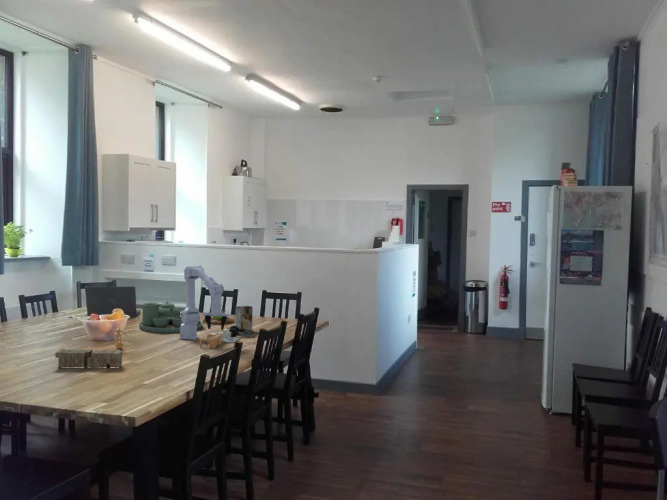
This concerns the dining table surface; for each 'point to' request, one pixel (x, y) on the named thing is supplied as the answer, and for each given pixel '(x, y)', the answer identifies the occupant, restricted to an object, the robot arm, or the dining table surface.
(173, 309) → the tea set
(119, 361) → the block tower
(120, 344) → the figurine
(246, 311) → the coffee box
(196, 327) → the robot arm
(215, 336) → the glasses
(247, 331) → the headset
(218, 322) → the plant
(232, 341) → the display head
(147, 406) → the dining table surface
